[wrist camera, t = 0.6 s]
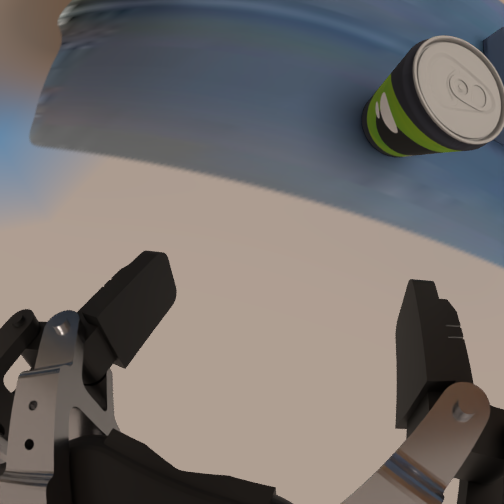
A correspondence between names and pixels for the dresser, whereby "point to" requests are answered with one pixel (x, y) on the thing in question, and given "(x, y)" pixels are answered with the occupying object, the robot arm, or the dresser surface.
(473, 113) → the beverage can
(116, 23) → the dresser surface
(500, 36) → the slate blue open bin
